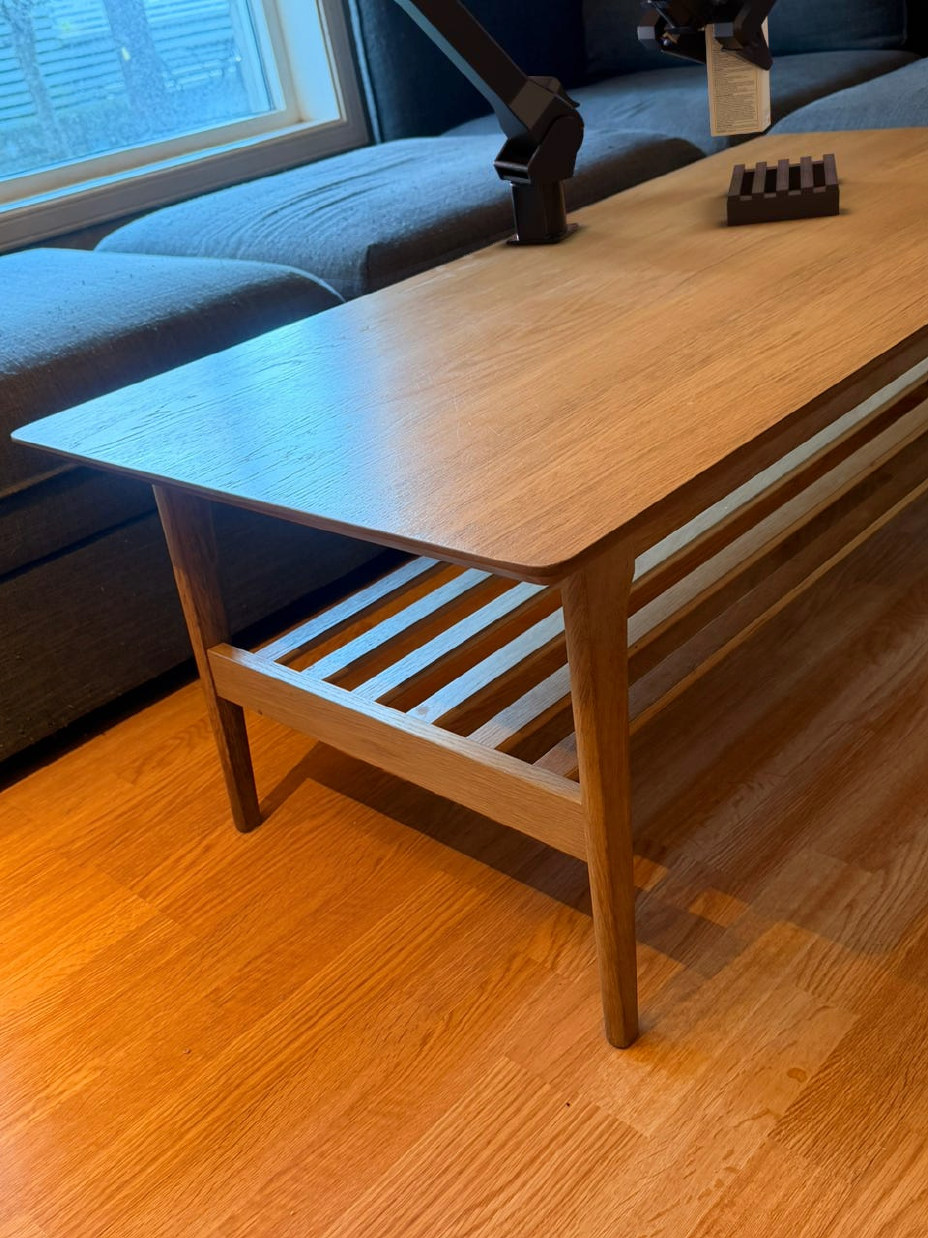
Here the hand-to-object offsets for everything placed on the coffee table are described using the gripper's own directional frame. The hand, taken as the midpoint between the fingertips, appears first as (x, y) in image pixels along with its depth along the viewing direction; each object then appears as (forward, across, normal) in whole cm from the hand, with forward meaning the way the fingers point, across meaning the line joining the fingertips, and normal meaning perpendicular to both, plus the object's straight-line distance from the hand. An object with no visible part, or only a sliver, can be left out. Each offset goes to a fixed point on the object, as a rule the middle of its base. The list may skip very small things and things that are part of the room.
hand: (748, 66), depth 127 cm
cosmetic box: (+4, 0, +6) cm, 7 cm away
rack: (+5, -13, +13) cm, 19 cm away
